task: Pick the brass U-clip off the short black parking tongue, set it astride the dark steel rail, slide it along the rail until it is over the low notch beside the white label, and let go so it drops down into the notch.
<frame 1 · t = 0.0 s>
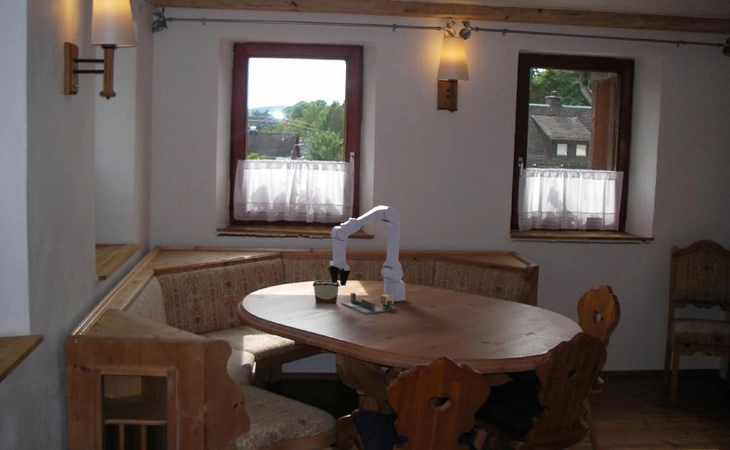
hand: (338, 284, 342), 10 cm above the table, tool pointing down, fingers open, 7 cm apart
food container: (327, 303, 351), on the table
clip: (387, 303, 340), point 2 cm above the table, touching tongue
rail: (362, 307, 342), on the table
tongue: (387, 308, 340), on the table
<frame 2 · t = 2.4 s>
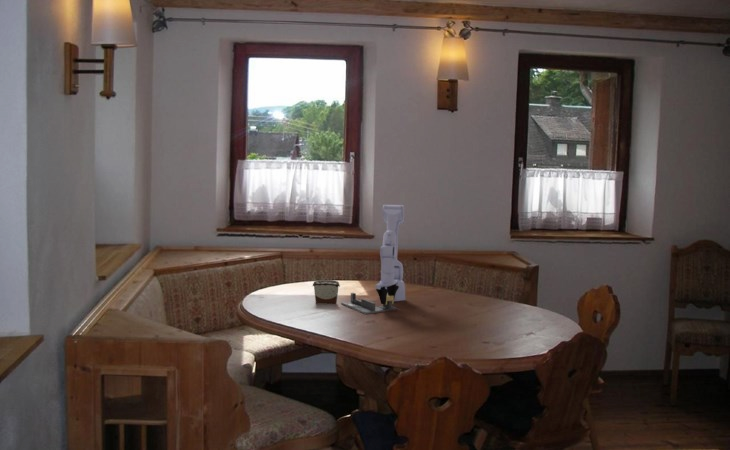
hand: (387, 302, 340), 3 cm above the table, tool pointing down, fingers closed on clip, 5 cm apart
clip: (387, 303, 340), point 2 cm above the table, touching gripper, tongue
everything else where it was.
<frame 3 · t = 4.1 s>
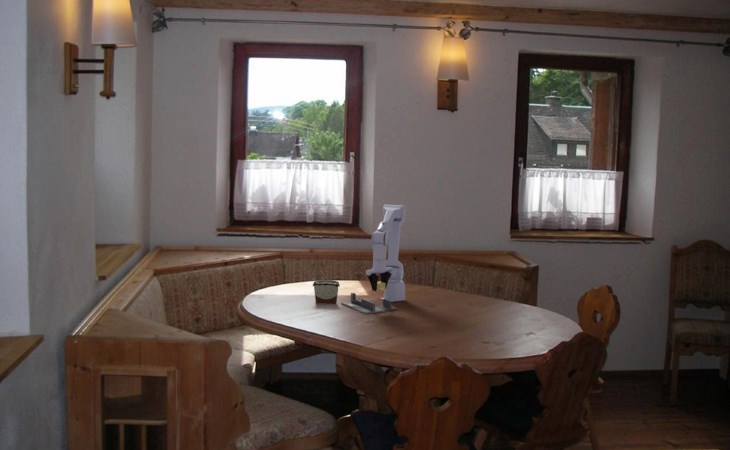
hand: (379, 289, 336), 9 cm above the table, tool pointing down, fingers closed on clip, 5 cm apart
clip: (379, 290, 336), point 9 cm above the table, touching gripper
everything else where it was.
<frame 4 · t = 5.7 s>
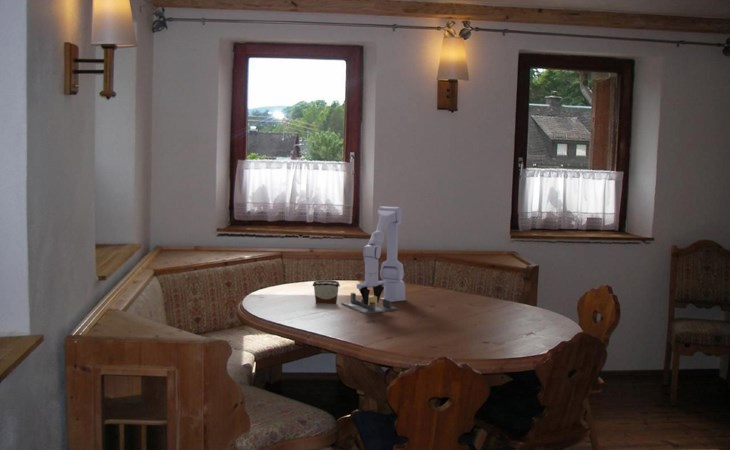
hand: (371, 303, 335), 3 cm above the table, tool pointing down, fingers closed on clip, 5 cm apart
clip: (371, 303, 335), point 3 cm above the table, touching gripper
everything else where it was.
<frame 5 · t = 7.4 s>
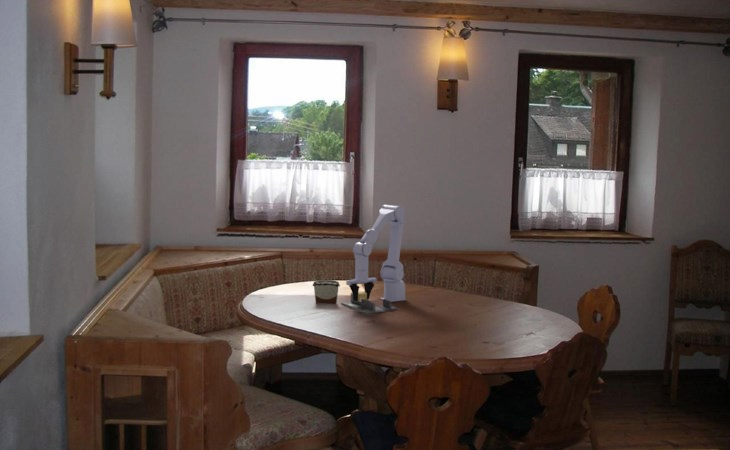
hand: (361, 299, 342), 3 cm above the table, tool pointing down, fingers closed on clip, 5 cm apart
clip: (361, 300, 342), point 3 cm above the table, touching gripper
everything else where it was.
when the fingers open (2 cm above the table, at t = 9.1 s): clip stays where it is, resting on rail.
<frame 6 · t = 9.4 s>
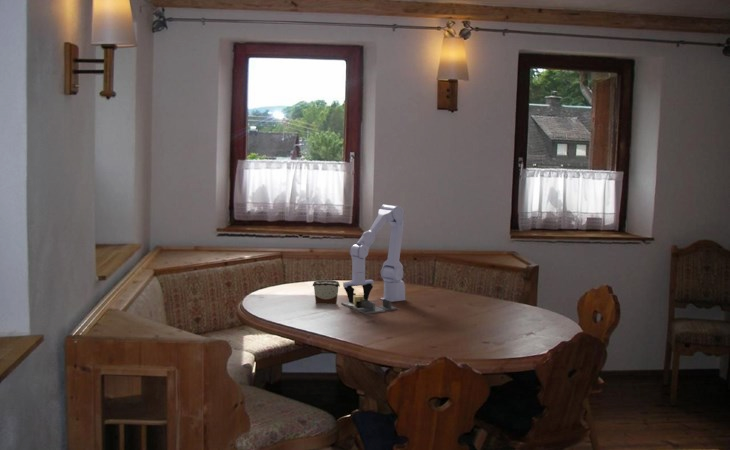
hand: (358, 301, 344), 2 cm above the table, tool pointing down, fingers open, 7 cm apart
clip: (358, 303, 344), point 1 cm above the table, touching rail
everything else where it was.
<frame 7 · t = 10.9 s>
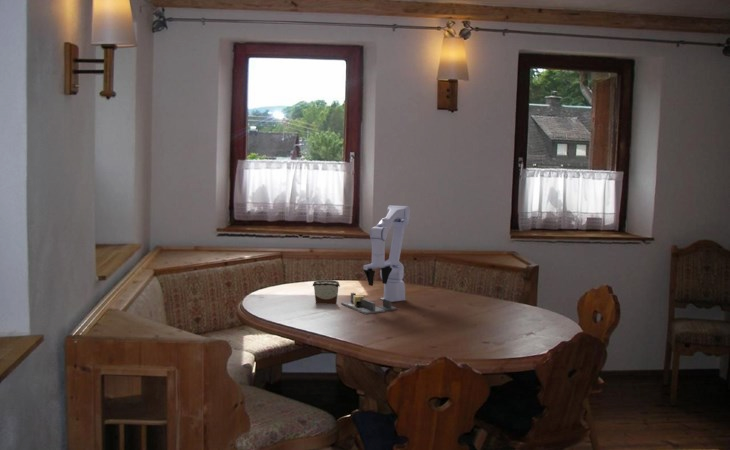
hand: (377, 284, 341), 10 cm above the table, tool pointing down, fingers open, 7 cm apart
nothing on the table moved.
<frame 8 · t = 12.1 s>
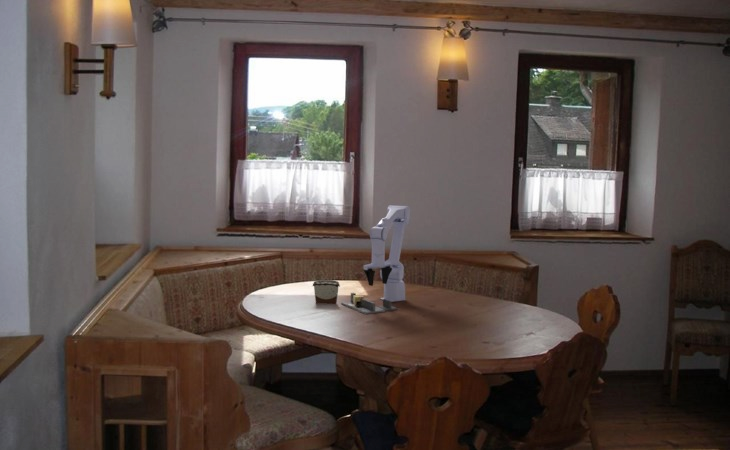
hand: (377, 284, 341), 10 cm above the table, tool pointing down, fingers open, 7 cm apart
nothing on the table moved.
at the end: clip 0.1 cm from the target spot on the rail, point 1.1 cm above the rail's base; the gripper is holding nothing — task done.
